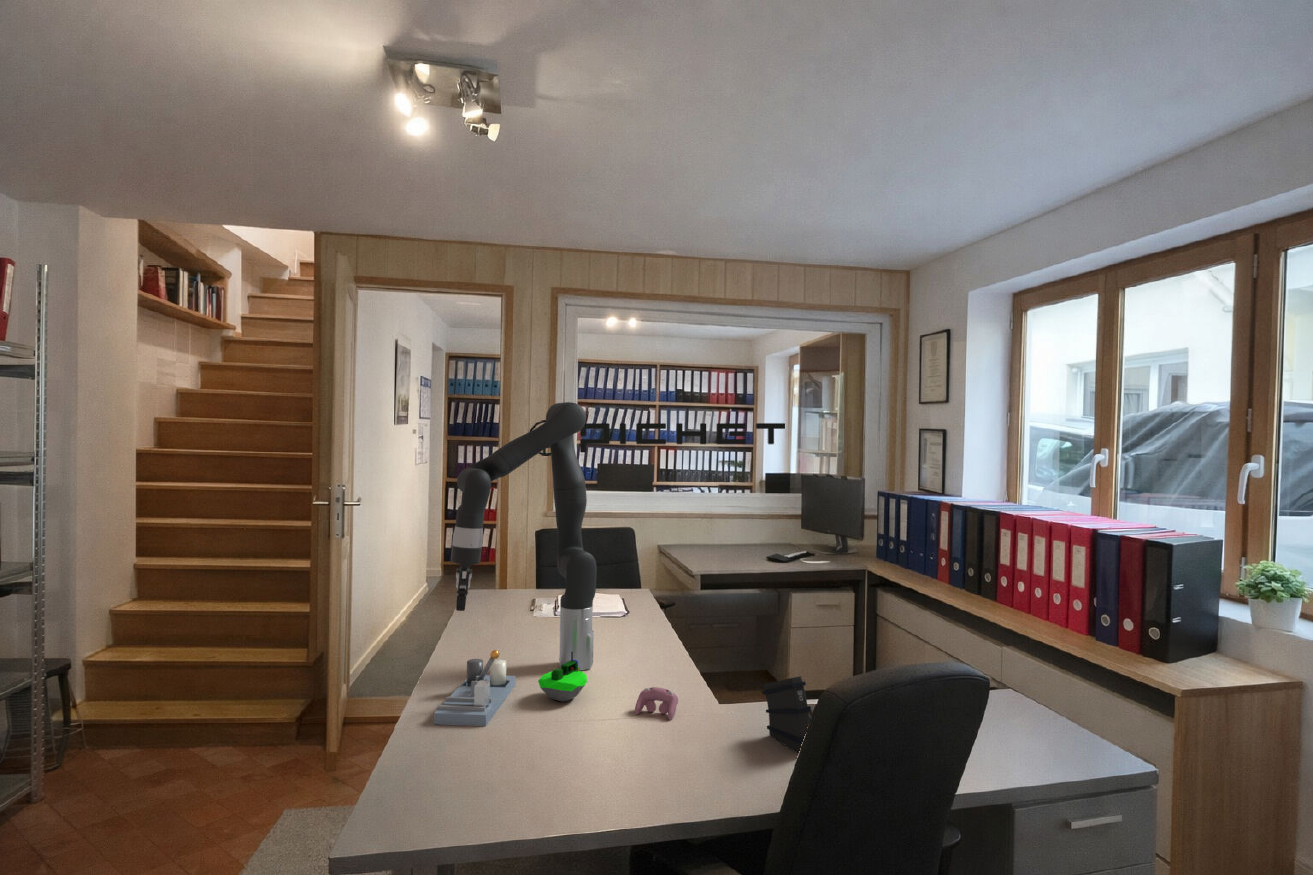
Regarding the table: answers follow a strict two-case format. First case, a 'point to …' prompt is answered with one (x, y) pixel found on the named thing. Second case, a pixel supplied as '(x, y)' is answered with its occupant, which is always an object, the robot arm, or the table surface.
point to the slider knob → (482, 693)
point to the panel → (472, 704)
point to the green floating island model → (563, 681)
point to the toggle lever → (488, 664)
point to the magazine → (787, 711)
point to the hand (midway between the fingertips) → (460, 607)
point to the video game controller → (657, 694)
